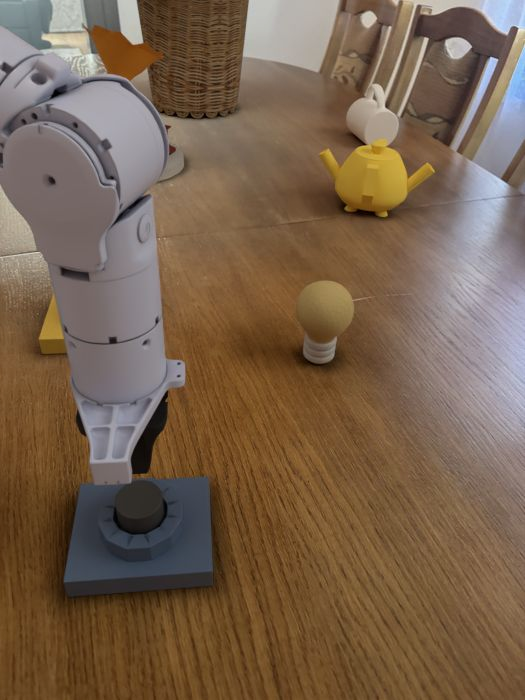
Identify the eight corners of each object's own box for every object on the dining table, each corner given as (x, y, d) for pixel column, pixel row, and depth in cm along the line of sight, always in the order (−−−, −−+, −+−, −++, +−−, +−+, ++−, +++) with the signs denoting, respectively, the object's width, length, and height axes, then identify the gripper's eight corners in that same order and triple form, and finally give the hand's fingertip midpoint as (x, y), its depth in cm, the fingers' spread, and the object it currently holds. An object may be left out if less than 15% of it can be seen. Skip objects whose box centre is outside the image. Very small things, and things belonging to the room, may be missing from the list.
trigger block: (41, 354, 64) (34, 326, 62) (57, 305, 72) (51, 278, 70) (147, 351, 66) (145, 323, 63) (151, 303, 74) (149, 277, 71)
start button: (115, 536, 43) (112, 520, 42) (119, 496, 46) (117, 481, 44) (163, 532, 43) (161, 517, 42) (164, 494, 46) (163, 478, 45)
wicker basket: (141, 84, 157) (129, -64, 136) (266, 92, 157) (273, -54, 136) (109, 123, 129) (89, -54, 108) (261, 132, 129) (269, -43, 108)
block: (67, 597, 43) (58, 569, 40) (84, 498, 50) (77, 469, 47) (213, 586, 44) (212, 558, 41) (209, 491, 51) (208, 462, 48)
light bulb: (282, 345, 68) (289, 274, 62) (330, 336, 70) (341, 266, 64) (304, 379, 63) (313, 306, 57) (354, 368, 65) (368, 296, 59)
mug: (361, 150, 123) (370, 92, 116) (343, 134, 131) (351, 79, 123) (395, 148, 125) (406, 91, 118) (375, 133, 133) (385, 78, 125)
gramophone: (154, 192, 101) (142, 35, 85) (56, 173, 105) (27, 20, 90) (200, 155, 116) (198, 16, 100) (113, 140, 121) (97, 5, 105)
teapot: (426, 195, 106) (441, 134, 99) (421, 236, 92) (438, 170, 85) (322, 178, 109) (329, 119, 102) (303, 216, 96) (309, 151, 89)
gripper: (181, 398, 27) (190, 553, 36) (182, 251, 38) (189, 395, 47) (30, 404, 26) (76, 561, 35) (76, 252, 38) (102, 399, 46)
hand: (134, 466), depth 41 cm, fingers closed
